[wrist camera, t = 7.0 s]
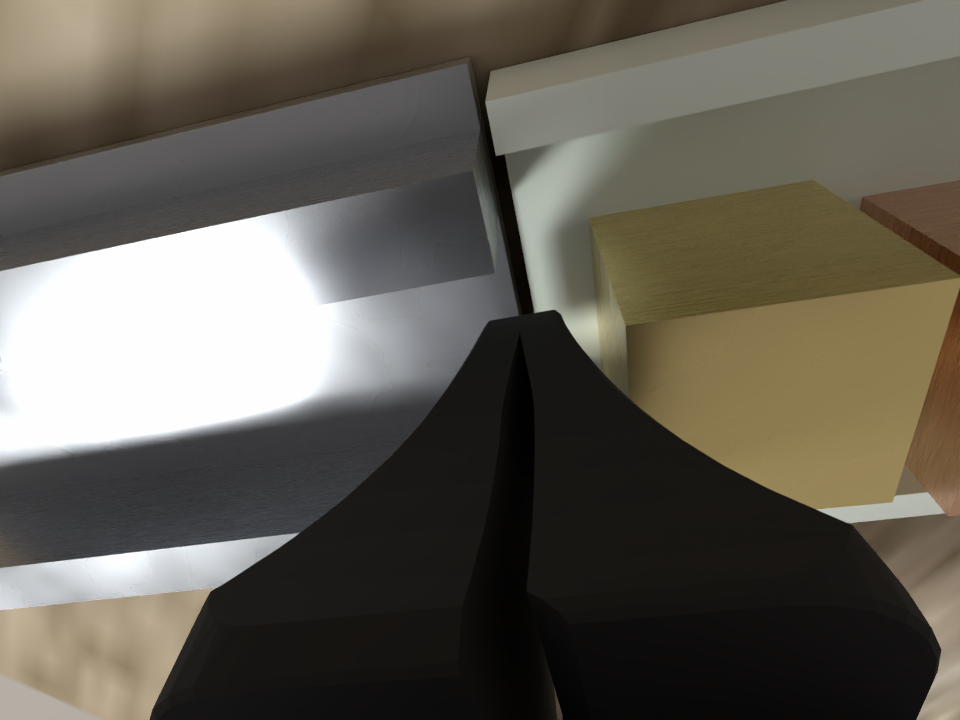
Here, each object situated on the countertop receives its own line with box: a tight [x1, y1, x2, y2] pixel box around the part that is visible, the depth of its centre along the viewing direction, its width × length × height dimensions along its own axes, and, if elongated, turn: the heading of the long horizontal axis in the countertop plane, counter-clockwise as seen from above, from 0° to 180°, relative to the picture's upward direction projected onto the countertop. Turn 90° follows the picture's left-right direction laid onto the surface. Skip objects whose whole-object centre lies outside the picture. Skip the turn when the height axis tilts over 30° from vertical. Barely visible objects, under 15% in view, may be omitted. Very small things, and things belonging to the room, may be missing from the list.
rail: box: [0, 56, 522, 610], centre depth 12 cm, size 10×16×4 cm, turn 102°
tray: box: [485, 0, 960, 523], centre depth 10 cm, size 9×13×3 cm
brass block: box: [588, 180, 960, 509], centre depth 10 cm, size 4×4×4 cm
